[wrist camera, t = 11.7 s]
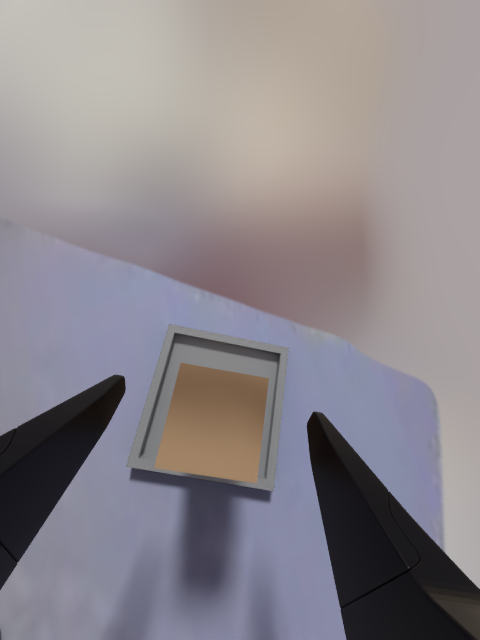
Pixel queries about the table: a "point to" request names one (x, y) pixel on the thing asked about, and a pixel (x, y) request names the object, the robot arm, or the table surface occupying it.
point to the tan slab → (214, 424)
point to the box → (222, 356)
